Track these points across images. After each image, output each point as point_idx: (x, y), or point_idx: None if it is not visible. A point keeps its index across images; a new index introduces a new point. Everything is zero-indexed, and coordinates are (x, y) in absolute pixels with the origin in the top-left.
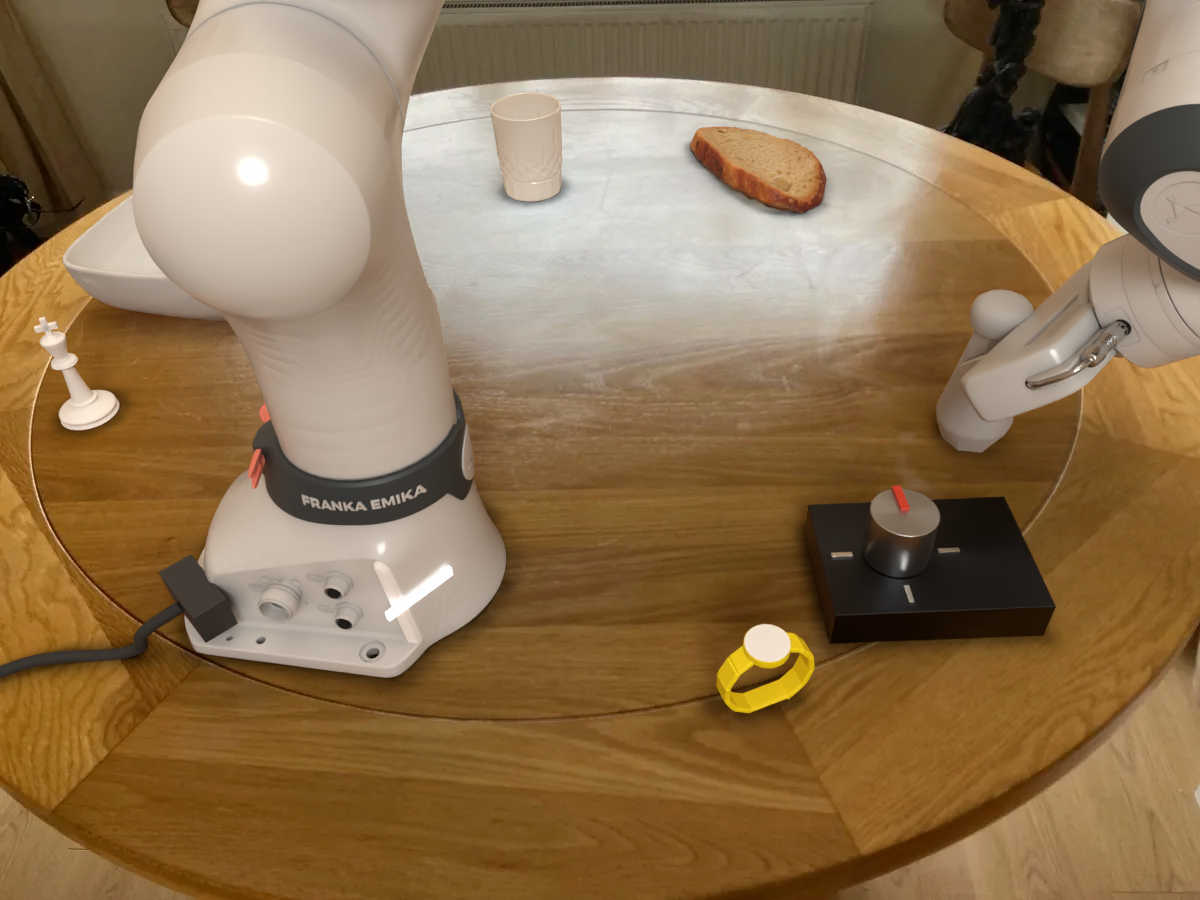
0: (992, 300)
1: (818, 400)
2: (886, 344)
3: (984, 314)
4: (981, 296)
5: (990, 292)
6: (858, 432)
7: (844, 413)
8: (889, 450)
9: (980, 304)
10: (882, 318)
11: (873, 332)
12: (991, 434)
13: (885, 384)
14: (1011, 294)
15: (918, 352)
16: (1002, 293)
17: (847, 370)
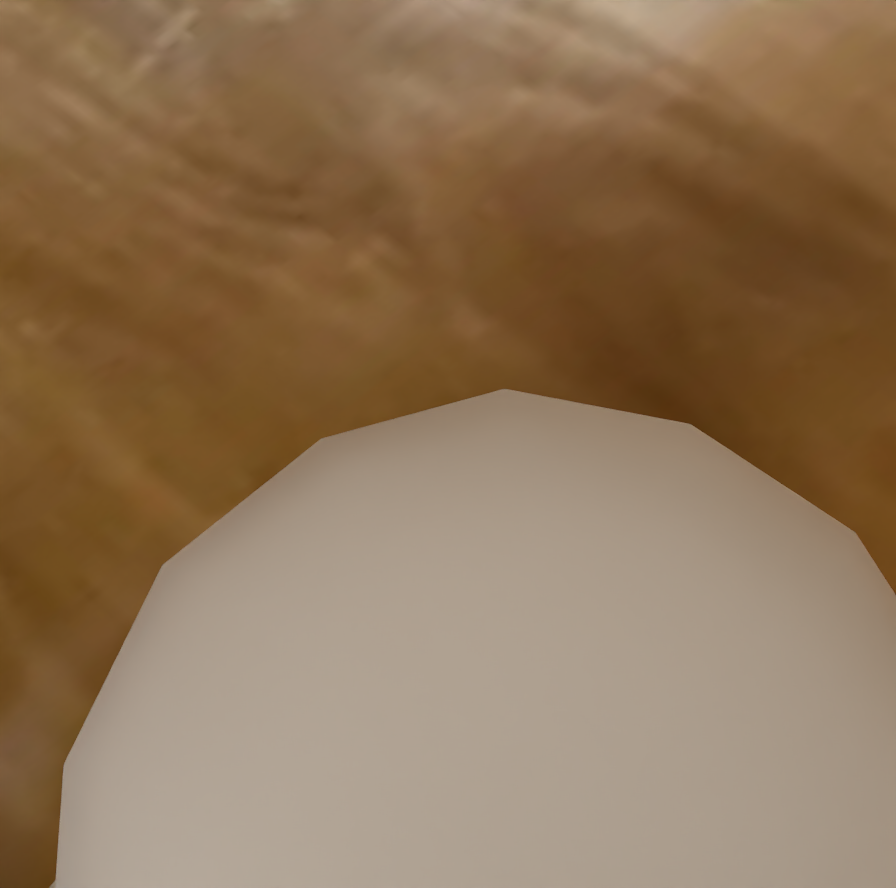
0: (358, 719)
1: (172, 177)
2: (658, 120)
3: (71, 800)
4: (399, 473)
5: (576, 515)
6: (124, 398)
7: (181, 289)
8: (120, 552)
9: (185, 609)
10: (774, 11)
11: (677, 44)
12: None
13: (453, 274)
14: (811, 823)
15: (721, 228)
16: (696, 692)
17: (408, 130)
